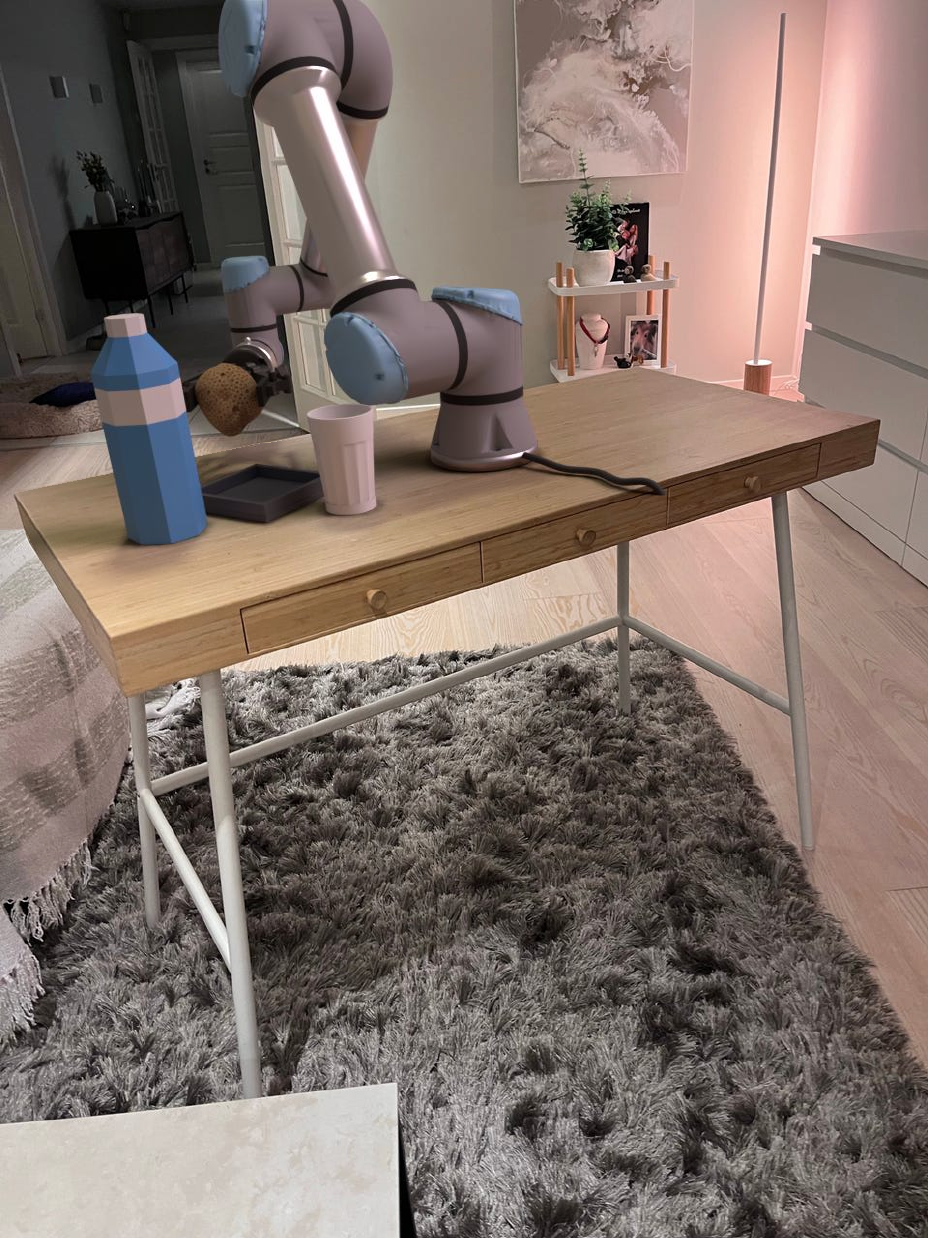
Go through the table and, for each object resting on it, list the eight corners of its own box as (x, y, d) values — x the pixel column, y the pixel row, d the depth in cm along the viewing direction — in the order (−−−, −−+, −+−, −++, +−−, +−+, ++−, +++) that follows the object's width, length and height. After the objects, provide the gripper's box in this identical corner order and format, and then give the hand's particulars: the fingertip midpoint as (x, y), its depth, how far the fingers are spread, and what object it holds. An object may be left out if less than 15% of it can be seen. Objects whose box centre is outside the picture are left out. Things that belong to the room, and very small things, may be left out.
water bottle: (126, 526, 116) (78, 315, 105) (203, 513, 119) (164, 307, 108) (130, 550, 108) (78, 325, 97) (212, 536, 111) (171, 316, 100)
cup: (378, 493, 122) (369, 400, 117) (387, 512, 115) (377, 414, 109) (317, 501, 120) (304, 407, 115) (321, 520, 113) (308, 422, 108)
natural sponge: (258, 424, 138) (247, 354, 134) (277, 435, 131) (266, 363, 127) (196, 434, 134) (184, 363, 130) (213, 447, 127) (199, 372, 123)
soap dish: (335, 490, 124) (333, 473, 123) (266, 522, 114) (263, 504, 113) (258, 479, 131) (256, 463, 130) (187, 509, 120) (183, 492, 119)
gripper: (174, 349, 145) (135, 377, 124) (315, 338, 145) (300, 365, 125) (183, 398, 148) (147, 433, 127) (322, 387, 148) (308, 421, 128)
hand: (223, 399), depth 126 cm, fingers closed on natural sponge, 9 cm apart
